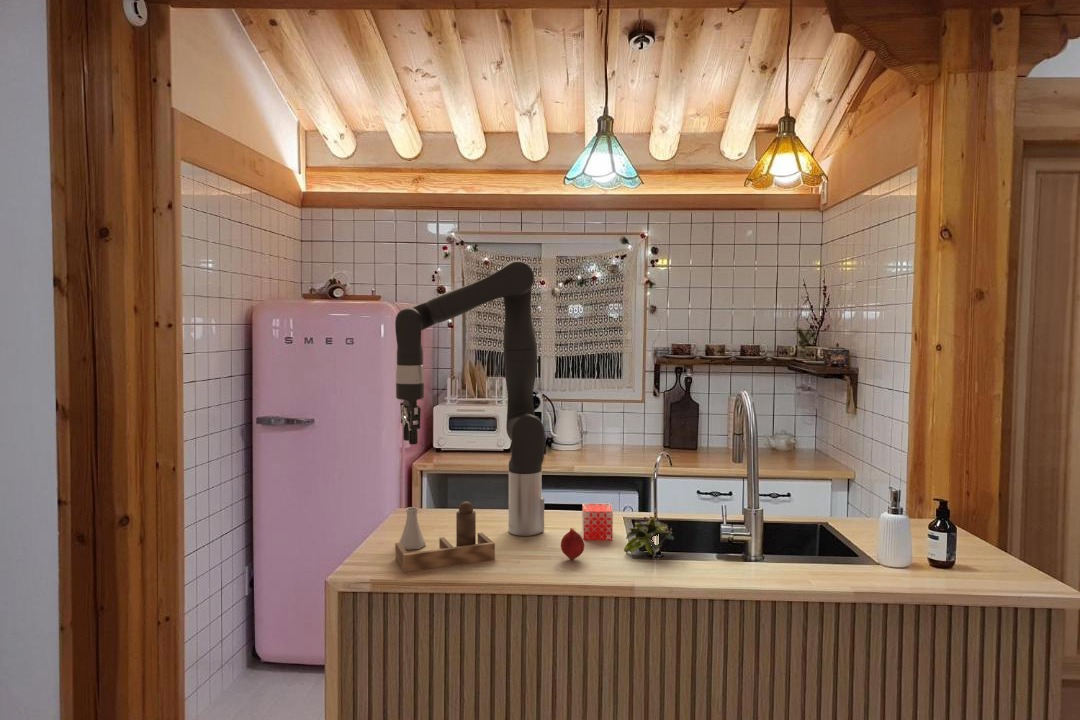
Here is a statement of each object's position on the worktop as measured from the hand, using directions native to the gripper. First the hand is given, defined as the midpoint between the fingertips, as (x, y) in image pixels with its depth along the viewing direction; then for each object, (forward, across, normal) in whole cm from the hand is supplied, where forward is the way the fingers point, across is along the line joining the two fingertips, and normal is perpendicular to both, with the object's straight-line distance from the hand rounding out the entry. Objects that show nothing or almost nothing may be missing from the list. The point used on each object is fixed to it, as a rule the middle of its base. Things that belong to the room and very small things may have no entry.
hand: (410, 442), depth 191 cm
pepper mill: (+26, -23, -9) cm, 35 cm away
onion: (+26, -36, -32) cm, 55 cm away
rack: (+26, -23, -3) cm, 35 cm away
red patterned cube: (+26, -21, -47) cm, 58 cm away
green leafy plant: (+26, -40, -52) cm, 71 cm away
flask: (+26, -10, +2) cm, 28 cm away
